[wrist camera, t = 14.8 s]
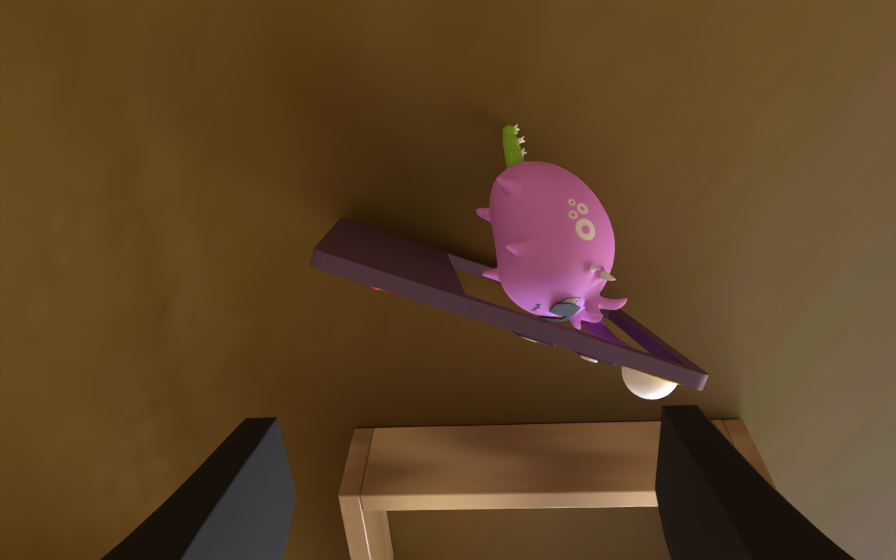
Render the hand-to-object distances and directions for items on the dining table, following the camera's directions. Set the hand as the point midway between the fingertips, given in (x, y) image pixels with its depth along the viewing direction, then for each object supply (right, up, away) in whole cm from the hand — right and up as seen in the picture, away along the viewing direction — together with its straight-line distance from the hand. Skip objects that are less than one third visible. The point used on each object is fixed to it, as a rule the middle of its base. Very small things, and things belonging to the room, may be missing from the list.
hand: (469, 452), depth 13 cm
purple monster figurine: (+1, +6, +7) cm, 9 cm away
